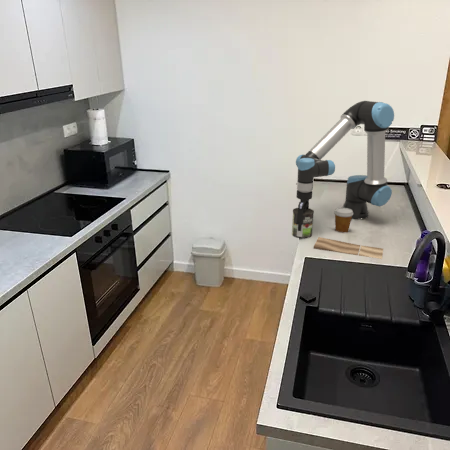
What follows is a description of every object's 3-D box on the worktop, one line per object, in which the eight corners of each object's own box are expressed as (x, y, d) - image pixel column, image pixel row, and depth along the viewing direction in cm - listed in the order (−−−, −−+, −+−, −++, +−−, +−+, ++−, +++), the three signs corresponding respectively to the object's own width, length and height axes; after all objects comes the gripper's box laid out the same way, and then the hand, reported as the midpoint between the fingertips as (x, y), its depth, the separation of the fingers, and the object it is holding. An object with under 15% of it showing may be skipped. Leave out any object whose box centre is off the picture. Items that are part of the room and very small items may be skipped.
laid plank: (360, 247, 204) (360, 245, 204) (383, 250, 201) (383, 248, 200) (357, 257, 194) (357, 255, 194) (381, 261, 190) (381, 258, 190)
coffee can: (315, 239, 214) (317, 212, 209) (296, 241, 211) (298, 214, 206) (306, 232, 223) (308, 206, 218) (288, 234, 221) (289, 208, 216)
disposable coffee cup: (353, 231, 224) (356, 209, 220) (347, 236, 217) (349, 214, 213) (336, 227, 229) (338, 206, 225) (329, 233, 222) (331, 211, 218)
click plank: (318, 239, 211) (318, 236, 211) (360, 247, 204) (360, 245, 204) (313, 248, 201) (313, 246, 200) (357, 257, 194) (357, 255, 194)
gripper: (302, 183, 220) (299, 224, 228) (291, 195, 200) (289, 239, 208) (316, 185, 217) (313, 226, 225) (307, 197, 197) (304, 241, 205)
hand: (301, 232), depth 217 cm, fingers closed on coffee can, 10 cm apart
